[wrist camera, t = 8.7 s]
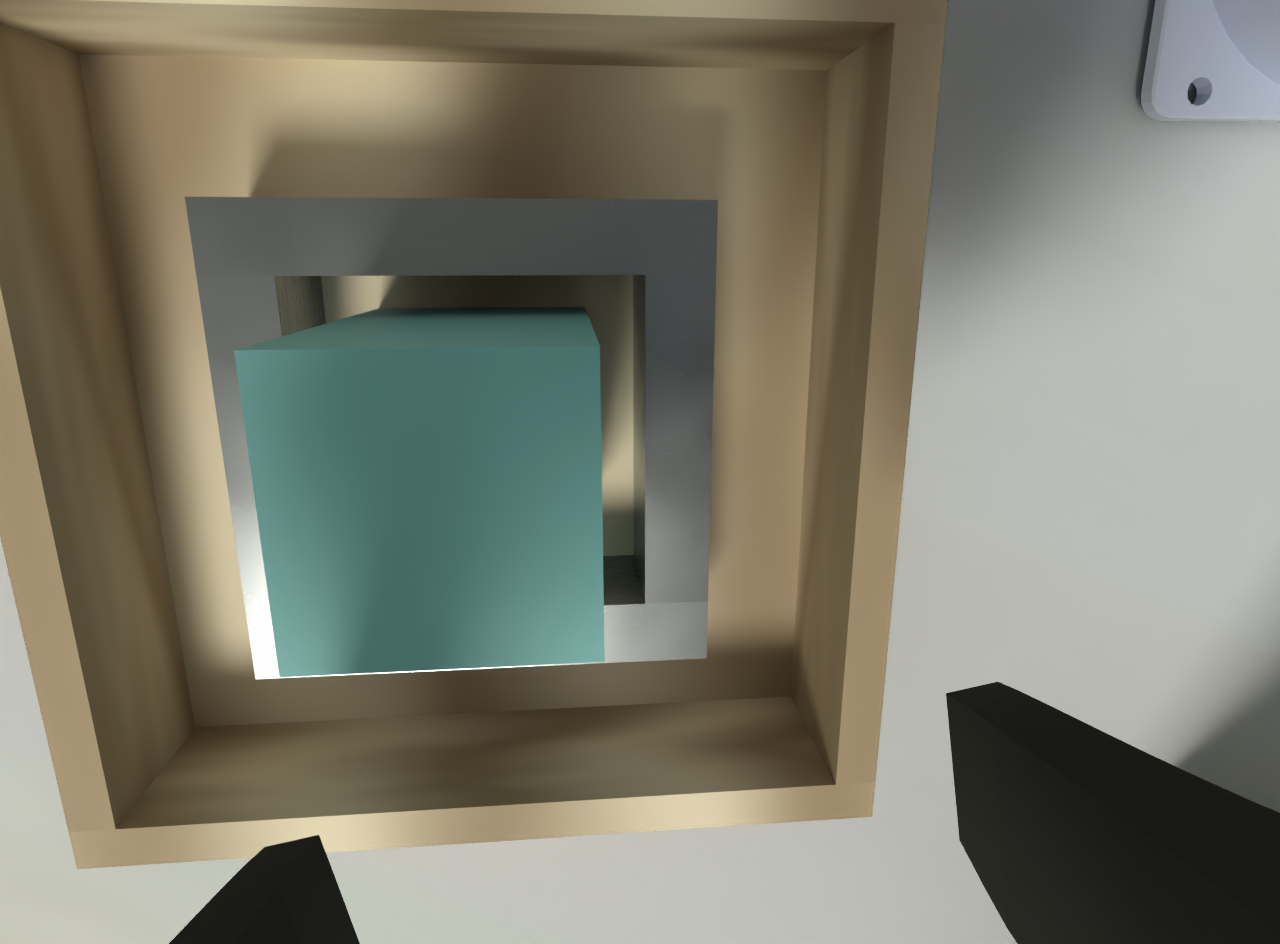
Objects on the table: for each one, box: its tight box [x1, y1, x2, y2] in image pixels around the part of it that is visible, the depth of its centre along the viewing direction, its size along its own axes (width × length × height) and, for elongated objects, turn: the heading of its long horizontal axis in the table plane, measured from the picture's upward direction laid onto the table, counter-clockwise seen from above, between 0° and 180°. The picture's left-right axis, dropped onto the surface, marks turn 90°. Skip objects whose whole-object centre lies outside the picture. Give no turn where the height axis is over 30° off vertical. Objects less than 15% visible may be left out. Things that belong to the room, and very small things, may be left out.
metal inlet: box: [185, 197, 718, 679], centre depth 15 cm, size 8×8×2 cm
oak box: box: [0, 0, 948, 869], centre depth 15 cm, size 15×15×4 cm
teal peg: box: [234, 307, 605, 677], centre depth 13 cm, size 4×4×7 cm
